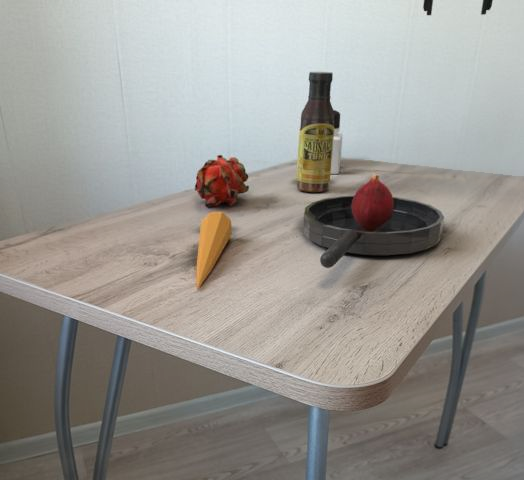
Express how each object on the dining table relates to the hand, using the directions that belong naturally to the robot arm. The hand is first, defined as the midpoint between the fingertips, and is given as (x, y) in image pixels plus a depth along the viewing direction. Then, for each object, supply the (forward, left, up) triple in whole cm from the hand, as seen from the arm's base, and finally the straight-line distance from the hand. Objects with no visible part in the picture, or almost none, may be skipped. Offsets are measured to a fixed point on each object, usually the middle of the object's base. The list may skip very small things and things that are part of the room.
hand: (455, 14), depth 90 cm
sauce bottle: (+20, +10, -28) cm, 36 cm away
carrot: (+20, +52, -28) cm, 62 cm away
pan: (+3, +33, -28) cm, 43 cm away
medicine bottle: (+24, -7, -28) cm, 38 cm away
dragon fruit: (+31, +26, -28) cm, 49 cm away
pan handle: (+3, +48, -26) cm, 55 cm away
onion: (+3, +33, -28) cm, 43 cm away
